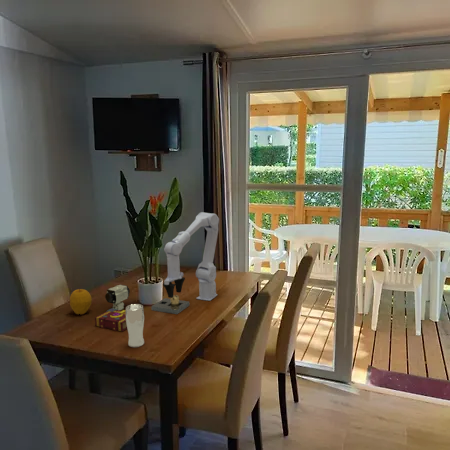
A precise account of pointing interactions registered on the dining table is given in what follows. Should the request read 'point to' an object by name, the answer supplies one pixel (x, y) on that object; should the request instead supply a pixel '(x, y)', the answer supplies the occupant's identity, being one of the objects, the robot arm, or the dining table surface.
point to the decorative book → (112, 320)
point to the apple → (80, 301)
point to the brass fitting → (175, 301)
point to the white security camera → (117, 296)
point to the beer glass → (135, 324)
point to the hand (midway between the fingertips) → (174, 294)
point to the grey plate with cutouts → (166, 306)
